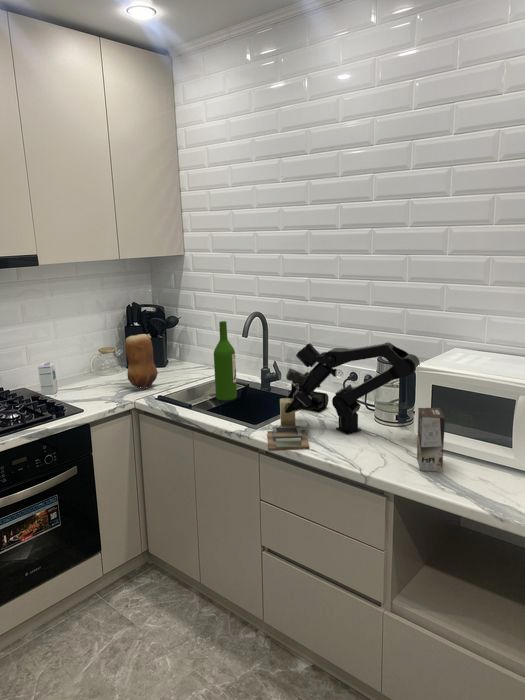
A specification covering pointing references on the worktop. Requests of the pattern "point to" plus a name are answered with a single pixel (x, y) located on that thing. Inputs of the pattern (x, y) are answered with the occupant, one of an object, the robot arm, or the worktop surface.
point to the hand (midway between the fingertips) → (285, 408)
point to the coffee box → (430, 439)
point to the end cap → (318, 402)
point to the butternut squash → (140, 360)
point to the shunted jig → (287, 438)
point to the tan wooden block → (286, 418)
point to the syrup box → (47, 379)
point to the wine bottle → (225, 367)
